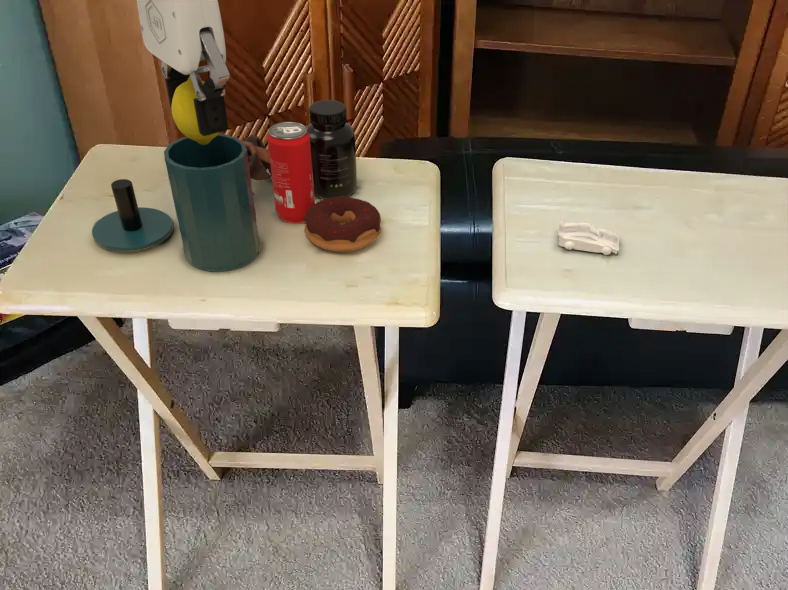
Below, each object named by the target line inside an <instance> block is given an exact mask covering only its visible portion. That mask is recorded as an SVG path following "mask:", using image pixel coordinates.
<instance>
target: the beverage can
mask: <svg viewBox="0 0 788 590" xmlns="http://www.w3.org/2000/svg"><path fill="white" fill-rule="evenodd" d="M306 127H307V126H306V125H304V124H302V123H299V122H295V121H293V122H292V121H284V122H279V123H278V122H277V123H276V124H273V125H272V126H270V127H269V128H268V134H267V136H266V137H267V138H266V139H267V146H268V151H269V156H270V164H271V173H272V178H271V180H272V190H273V197H274V206H275V211H276V212H277V214H278V215H279V218H280V219H281V220H282V221H283V222H285V223H288V224H303V223H305V219H304V218H305V215H306V213H307V211H308V209H309V208H310V207H311V206H312V205H314V204H316V197H315V195H314V184H313V172H312V159H311V147H310V136H309V133H308V132H307V128H306Z"/></svg>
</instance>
